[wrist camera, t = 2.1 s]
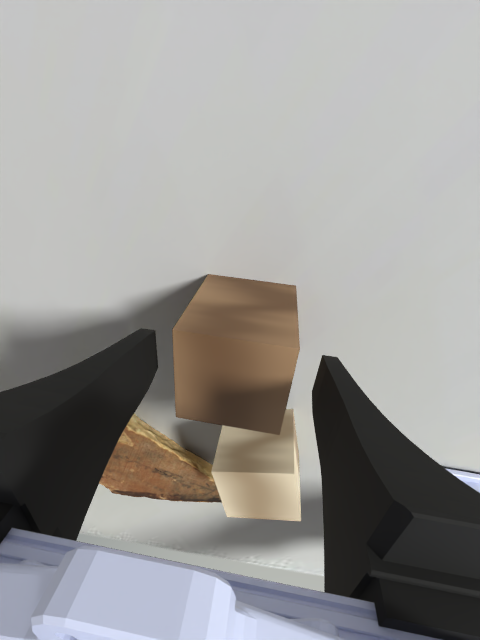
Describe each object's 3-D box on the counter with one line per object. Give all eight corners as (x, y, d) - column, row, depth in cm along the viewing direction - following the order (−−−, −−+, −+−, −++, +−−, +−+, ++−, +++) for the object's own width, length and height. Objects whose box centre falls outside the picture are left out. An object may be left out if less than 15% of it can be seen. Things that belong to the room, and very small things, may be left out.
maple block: (293, 408, 19) (294, 473, 15) (298, 453, 21) (301, 521, 17) (226, 409, 20) (211, 471, 16) (237, 452, 22) (227, 516, 18)
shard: (256, 482, 24) (253, 510, 22) (191, 517, 28) (184, 542, 27) (122, 393, 21) (106, 416, 19) (72, 446, 25) (54, 470, 23)
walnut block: (295, 285, 15) (299, 348, 10) (281, 356, 17) (279, 435, 12) (208, 274, 15) (172, 329, 10) (206, 344, 17) (175, 417, 13)
